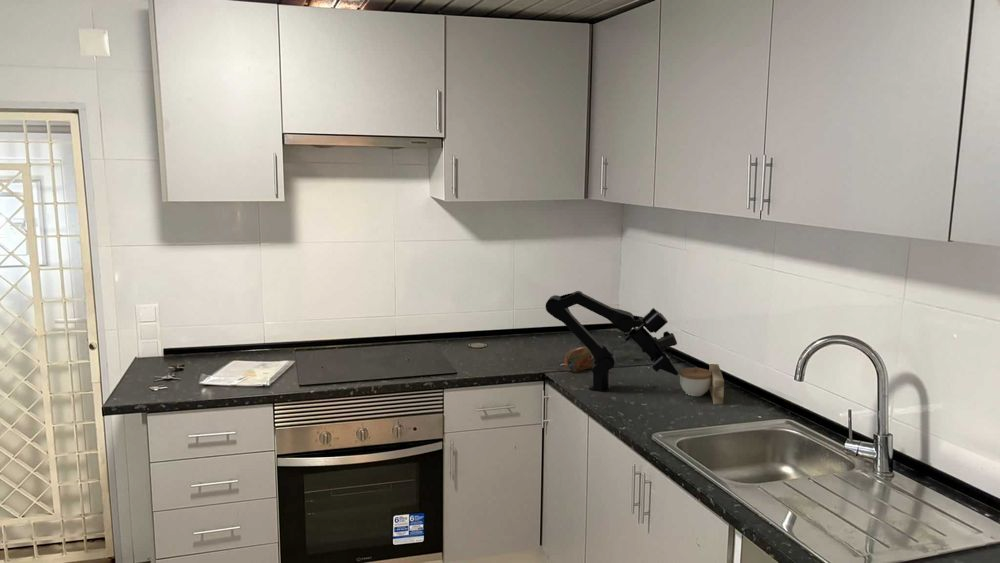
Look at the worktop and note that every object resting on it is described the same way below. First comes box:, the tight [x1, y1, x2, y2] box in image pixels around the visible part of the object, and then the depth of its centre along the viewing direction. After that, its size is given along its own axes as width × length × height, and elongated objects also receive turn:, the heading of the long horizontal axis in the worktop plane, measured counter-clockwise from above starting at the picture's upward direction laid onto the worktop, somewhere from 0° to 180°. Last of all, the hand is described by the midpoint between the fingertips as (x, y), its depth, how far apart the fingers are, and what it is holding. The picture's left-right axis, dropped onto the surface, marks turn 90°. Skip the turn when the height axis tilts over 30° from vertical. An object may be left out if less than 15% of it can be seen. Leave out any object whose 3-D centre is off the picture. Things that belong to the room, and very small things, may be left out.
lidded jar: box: [679, 366, 712, 397], centre depth 254 cm, size 11×11×9 cm
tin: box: [563, 346, 595, 373], centre depth 284 cm, size 15×3×8 cm, turn 129°
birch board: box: [708, 363, 725, 405], centre depth 253 cm, size 3×20×8 cm, turn 169°
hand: (677, 374), depth 255 cm, fingers closed
